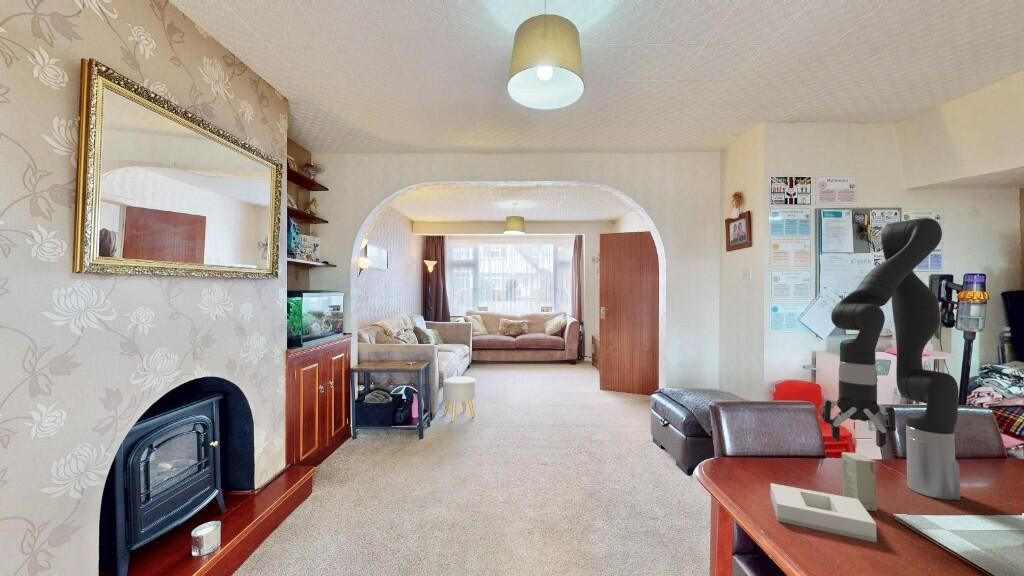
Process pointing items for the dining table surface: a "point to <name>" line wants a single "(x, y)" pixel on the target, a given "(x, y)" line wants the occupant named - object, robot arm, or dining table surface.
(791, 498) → the white slotted base
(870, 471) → the skincare box
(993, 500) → the dining table surface
